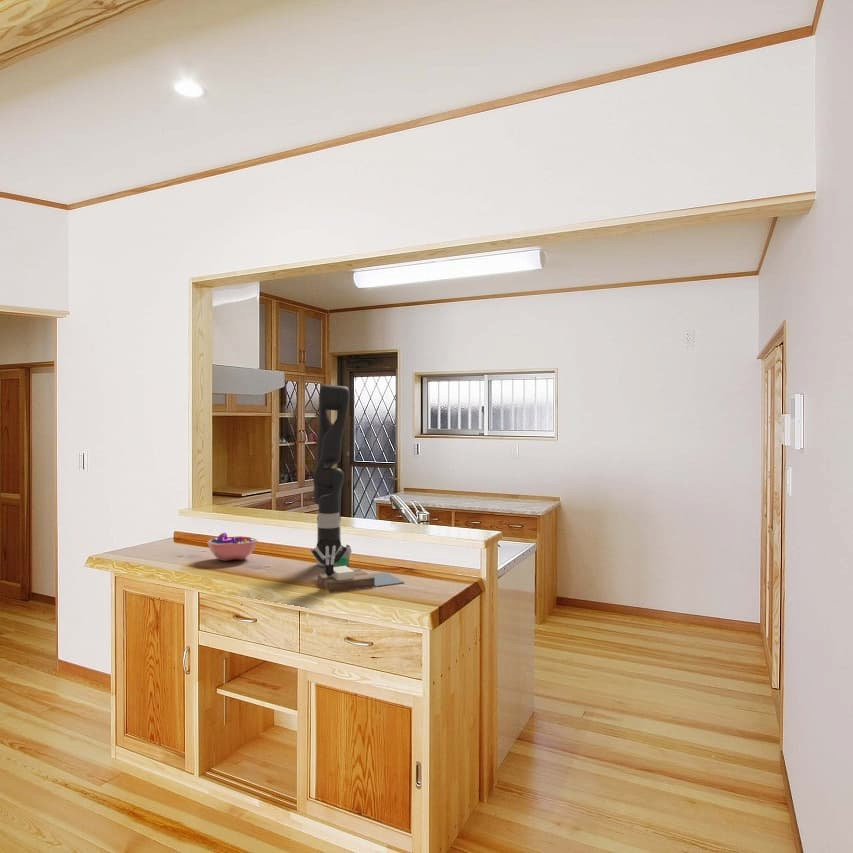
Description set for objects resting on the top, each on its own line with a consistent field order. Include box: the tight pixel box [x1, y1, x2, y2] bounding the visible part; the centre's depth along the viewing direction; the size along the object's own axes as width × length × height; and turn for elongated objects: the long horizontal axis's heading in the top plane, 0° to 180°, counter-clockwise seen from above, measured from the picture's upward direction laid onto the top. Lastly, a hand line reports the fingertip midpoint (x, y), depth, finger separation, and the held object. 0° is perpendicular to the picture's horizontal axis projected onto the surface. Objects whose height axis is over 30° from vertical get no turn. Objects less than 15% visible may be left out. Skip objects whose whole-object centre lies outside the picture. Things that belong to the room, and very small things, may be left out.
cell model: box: [206, 532, 258, 562], centre depth 259 cm, size 17×20×11 cm
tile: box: [331, 566, 354, 580], centre depth 220 cm, size 9×6×2 cm, turn 27°
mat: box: [368, 571, 405, 588], centre depth 227 cm, size 16×11×1 cm
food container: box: [334, 544, 352, 568], centre depth 235 cm, size 12×6×10 cm, turn 139°
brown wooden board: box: [317, 568, 375, 593], centre depth 221 cm, size 14×16×3 cm
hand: (328, 575), depth 218 cm, fingers closed
